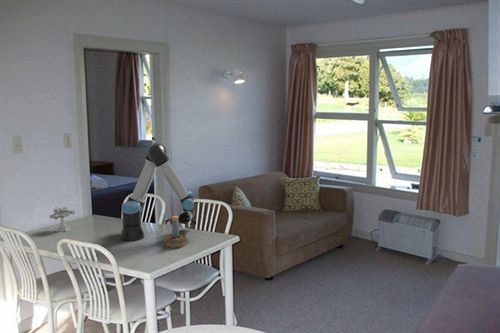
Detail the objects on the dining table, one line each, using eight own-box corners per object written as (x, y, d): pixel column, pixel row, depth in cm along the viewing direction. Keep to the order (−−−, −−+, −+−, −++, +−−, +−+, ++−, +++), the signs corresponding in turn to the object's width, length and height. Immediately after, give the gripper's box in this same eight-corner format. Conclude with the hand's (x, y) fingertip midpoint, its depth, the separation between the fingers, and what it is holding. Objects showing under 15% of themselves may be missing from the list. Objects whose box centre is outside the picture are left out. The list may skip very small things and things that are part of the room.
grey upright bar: (171, 244, 302) (170, 216, 299) (178, 243, 303) (177, 215, 301) (173, 246, 298) (172, 217, 296) (179, 245, 300) (179, 216, 297)
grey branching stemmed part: (51, 234, 328) (49, 210, 326) (47, 229, 342) (45, 206, 340) (78, 231, 337) (77, 207, 335) (74, 226, 351) (72, 203, 349)
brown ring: (163, 243, 304) (163, 235, 303) (182, 241, 309) (182, 233, 308) (169, 248, 293) (168, 240, 292) (188, 246, 298) (187, 238, 297)
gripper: (203, 223, 325) (197, 231, 304) (167, 222, 327) (158, 231, 306) (203, 212, 324) (197, 219, 303) (166, 211, 326) (158, 219, 305)
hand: (177, 225), depth 305 cm, fingers open, 13 cm apart
